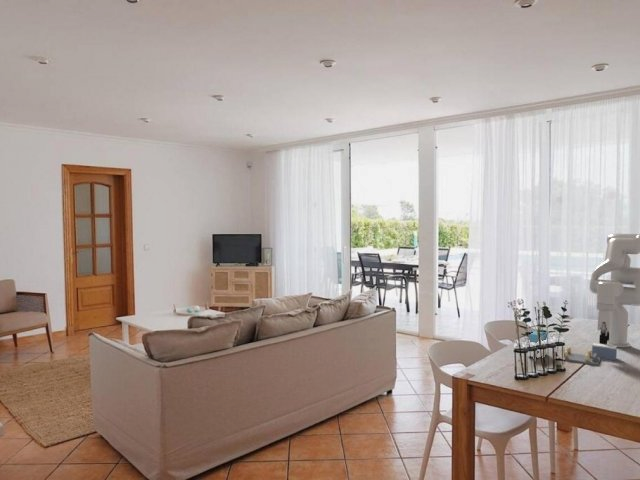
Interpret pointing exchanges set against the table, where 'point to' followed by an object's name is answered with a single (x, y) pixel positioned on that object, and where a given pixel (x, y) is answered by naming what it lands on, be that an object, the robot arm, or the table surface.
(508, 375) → the table surface
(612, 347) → the block
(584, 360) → the tray
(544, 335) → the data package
